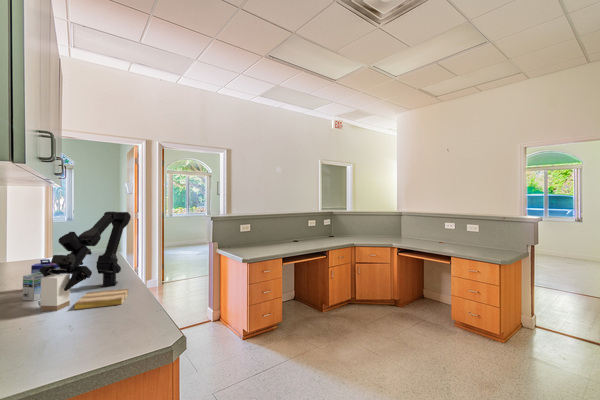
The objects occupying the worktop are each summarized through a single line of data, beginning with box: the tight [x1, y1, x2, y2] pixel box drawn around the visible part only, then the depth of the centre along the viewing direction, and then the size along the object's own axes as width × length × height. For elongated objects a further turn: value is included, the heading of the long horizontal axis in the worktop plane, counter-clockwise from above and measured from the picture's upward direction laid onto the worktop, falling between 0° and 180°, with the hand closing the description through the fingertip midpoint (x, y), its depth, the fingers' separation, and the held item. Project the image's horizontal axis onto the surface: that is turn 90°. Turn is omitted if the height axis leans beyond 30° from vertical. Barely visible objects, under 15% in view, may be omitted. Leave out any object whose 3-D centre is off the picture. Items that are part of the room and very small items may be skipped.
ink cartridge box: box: [30, 259, 60, 274], centre depth 140 cm, size 10×6×14 cm, turn 112°
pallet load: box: [40, 274, 71, 312], centre depth 114 cm, size 6×6×13 cm
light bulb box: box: [22, 272, 44, 302], centre depth 127 cm, size 11×7×11 cm, turn 168°
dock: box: [74, 288, 129, 310], centre depth 122 cm, size 14×16×2 cm
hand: (53, 290), depth 113 cm, fingers open, 9 cm apart
